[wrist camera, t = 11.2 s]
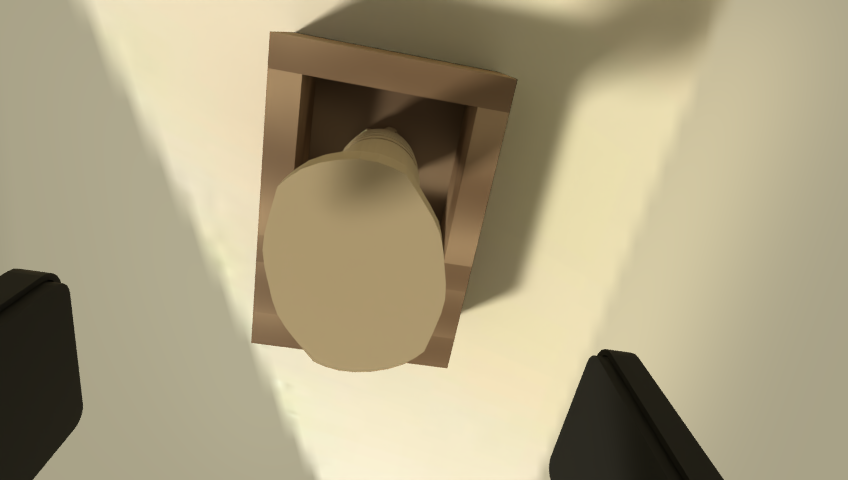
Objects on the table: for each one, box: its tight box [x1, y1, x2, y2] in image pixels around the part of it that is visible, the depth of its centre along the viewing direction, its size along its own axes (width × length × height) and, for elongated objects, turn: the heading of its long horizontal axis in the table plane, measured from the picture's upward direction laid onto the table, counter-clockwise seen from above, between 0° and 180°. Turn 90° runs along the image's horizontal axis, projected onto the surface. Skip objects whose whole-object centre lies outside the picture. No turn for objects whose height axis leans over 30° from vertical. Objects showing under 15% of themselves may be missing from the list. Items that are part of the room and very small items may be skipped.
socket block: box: [251, 32, 517, 368], centre depth 27 cm, size 16×11×5 cm
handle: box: [262, 127, 446, 372], centre depth 20 cm, size 5×6×15 cm
